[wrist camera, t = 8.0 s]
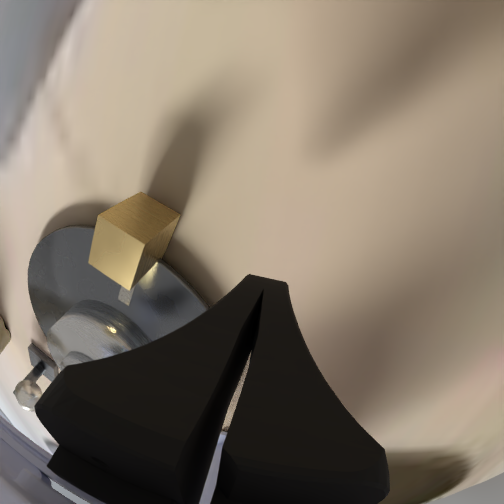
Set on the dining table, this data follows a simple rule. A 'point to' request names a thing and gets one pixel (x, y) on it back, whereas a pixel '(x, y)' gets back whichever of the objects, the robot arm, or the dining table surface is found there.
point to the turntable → (115, 269)
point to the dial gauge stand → (35, 378)
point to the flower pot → (3, 335)
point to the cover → (92, 334)
